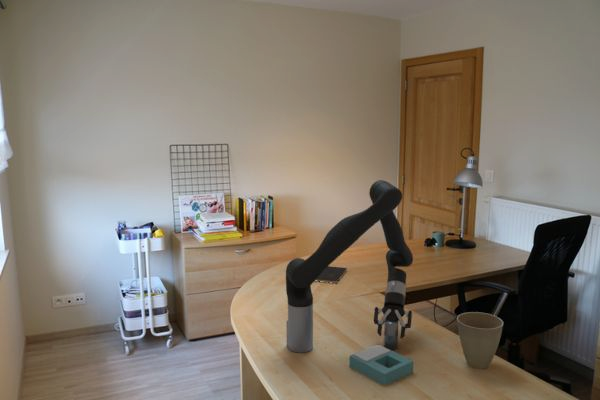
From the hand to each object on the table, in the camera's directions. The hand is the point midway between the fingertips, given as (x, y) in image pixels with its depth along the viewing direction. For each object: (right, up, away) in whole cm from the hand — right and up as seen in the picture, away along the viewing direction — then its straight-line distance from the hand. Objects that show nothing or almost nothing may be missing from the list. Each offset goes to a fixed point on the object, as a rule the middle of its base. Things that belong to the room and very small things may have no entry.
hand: (390, 336), depth 186 cm
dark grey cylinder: (0, -5, +2) cm, 5 cm away
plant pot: (+28, -7, -10) cm, 31 cm away
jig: (-6, -7, -14) cm, 17 cm away
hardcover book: (-18, +9, +87) cm, 89 cm away
